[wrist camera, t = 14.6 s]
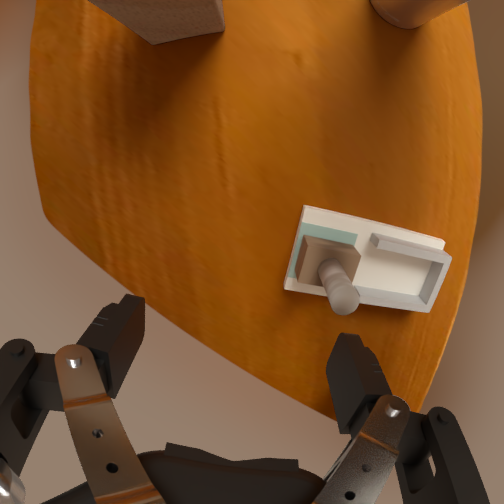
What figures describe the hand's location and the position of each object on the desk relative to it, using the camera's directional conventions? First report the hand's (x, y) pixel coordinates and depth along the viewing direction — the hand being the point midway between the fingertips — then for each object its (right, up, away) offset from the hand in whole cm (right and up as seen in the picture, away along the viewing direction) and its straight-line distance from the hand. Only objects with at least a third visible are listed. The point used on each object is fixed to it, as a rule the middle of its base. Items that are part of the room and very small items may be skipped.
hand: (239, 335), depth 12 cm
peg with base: (+10, +3, +29) cm, 31 cm away
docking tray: (+18, +2, +31) cm, 36 cm away
